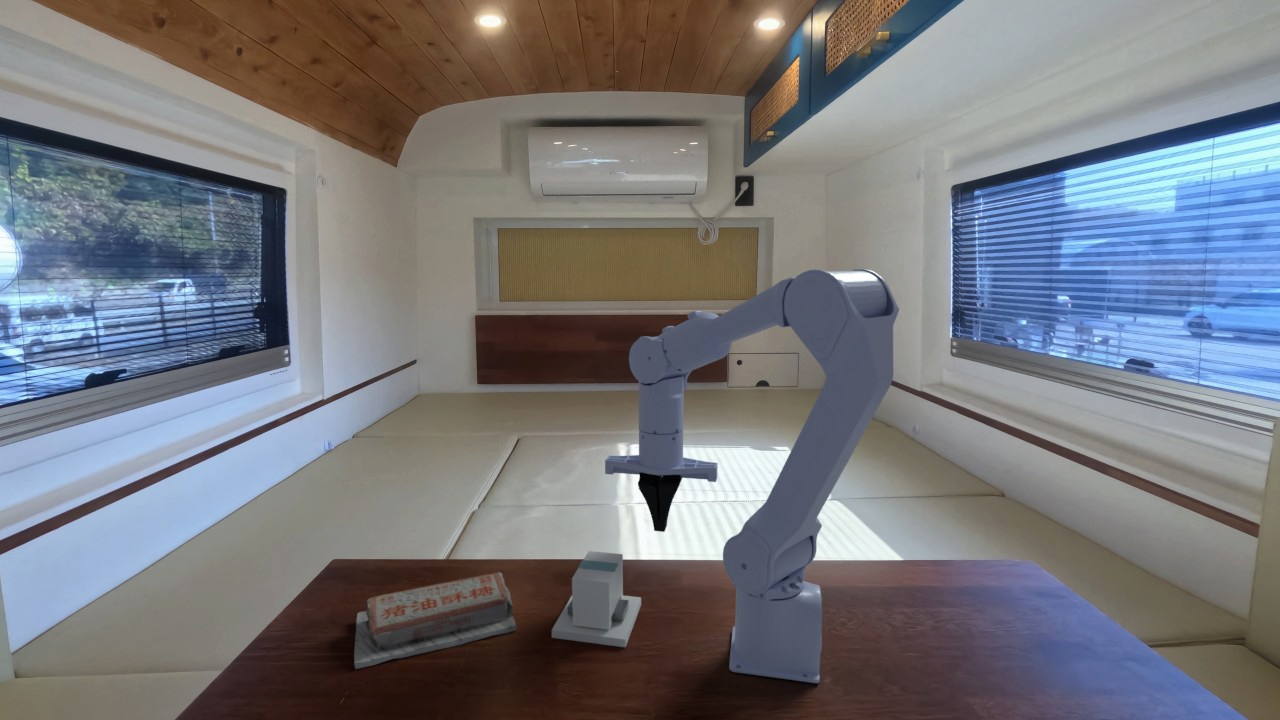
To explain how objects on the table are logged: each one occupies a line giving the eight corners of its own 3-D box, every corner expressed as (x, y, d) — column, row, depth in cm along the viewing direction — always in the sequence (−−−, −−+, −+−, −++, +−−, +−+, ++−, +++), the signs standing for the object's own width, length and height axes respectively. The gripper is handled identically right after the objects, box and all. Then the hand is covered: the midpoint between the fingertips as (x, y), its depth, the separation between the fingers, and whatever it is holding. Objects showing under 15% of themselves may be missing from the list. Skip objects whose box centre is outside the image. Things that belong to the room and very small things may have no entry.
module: (623, 597, 77) (623, 553, 76) (609, 629, 70) (609, 582, 69) (589, 593, 78) (588, 550, 77) (572, 625, 71) (571, 578, 70)
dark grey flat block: (628, 607, 75) (628, 600, 74) (623, 621, 72) (622, 613, 72) (575, 601, 76) (575, 594, 76) (567, 614, 73) (567, 607, 73)
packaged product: (501, 560, 80) (516, 597, 71) (502, 593, 81) (517, 634, 72) (354, 588, 73) (350, 634, 64) (357, 624, 74) (353, 674, 65)
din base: (641, 604, 78) (641, 597, 77) (625, 647, 69) (625, 639, 69) (575, 596, 79) (575, 589, 79) (551, 637, 71) (551, 629, 70)
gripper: (720, 423, 79) (718, 520, 81) (614, 417, 82) (614, 511, 84) (715, 438, 72) (713, 543, 74) (600, 431, 75) (601, 533, 77)
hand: (660, 528), depth 79 cm, fingers closed
